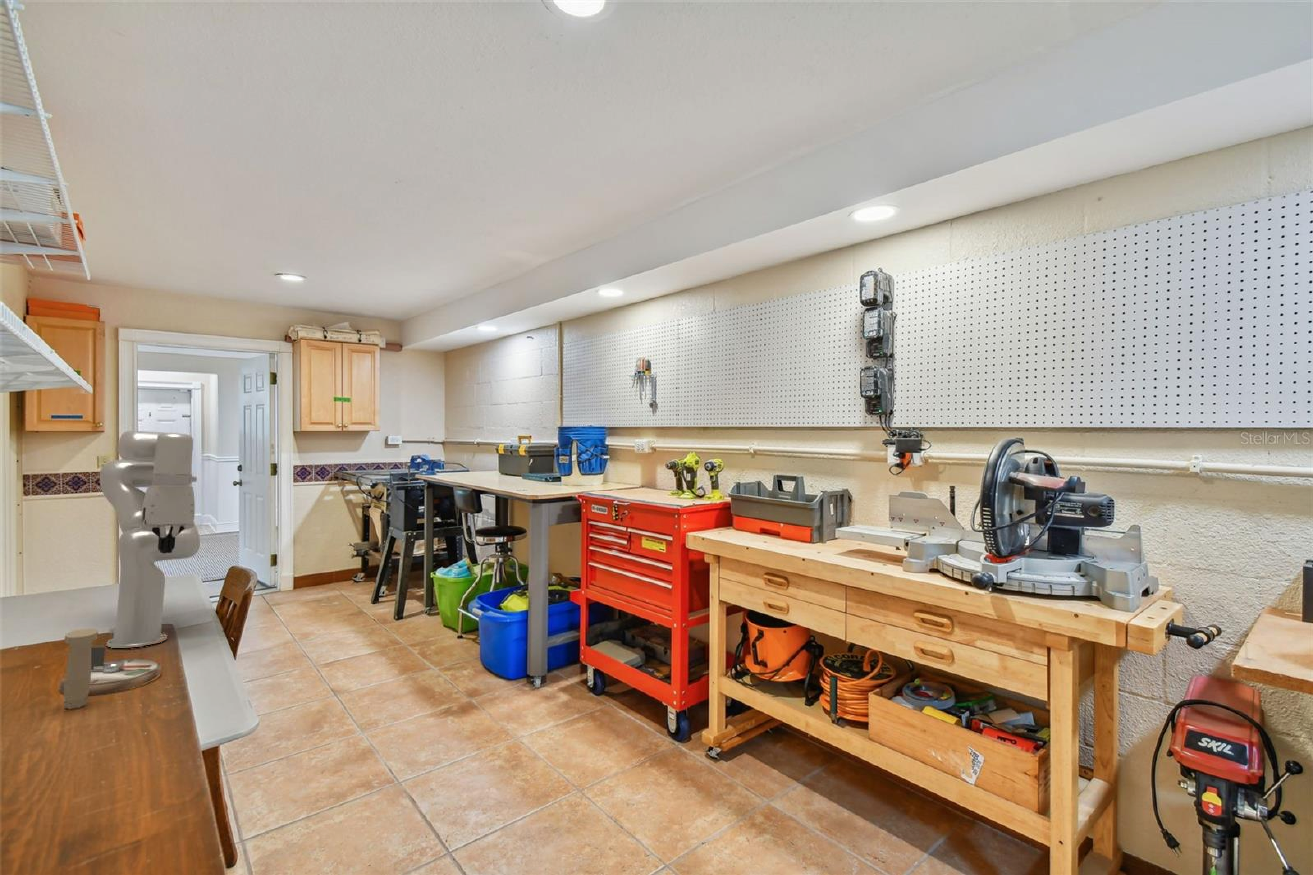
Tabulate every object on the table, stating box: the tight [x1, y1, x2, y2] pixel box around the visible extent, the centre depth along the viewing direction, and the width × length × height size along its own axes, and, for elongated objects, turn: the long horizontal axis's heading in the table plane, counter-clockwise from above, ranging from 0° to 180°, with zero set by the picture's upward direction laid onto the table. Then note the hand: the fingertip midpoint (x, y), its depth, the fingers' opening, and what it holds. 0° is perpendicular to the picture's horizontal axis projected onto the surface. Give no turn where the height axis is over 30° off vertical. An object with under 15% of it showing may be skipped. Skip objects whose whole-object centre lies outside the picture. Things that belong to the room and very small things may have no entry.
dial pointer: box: [91, 645, 151, 673], centre depth 135 cm, size 14×4×5 cm, turn 103°
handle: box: [63, 628, 99, 710], centre depth 121 cm, size 5×6×15 cm
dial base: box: [59, 658, 163, 697], centre depth 135 cm, size 17×17×3 cm
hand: (165, 552), depth 151 cm, fingers closed
